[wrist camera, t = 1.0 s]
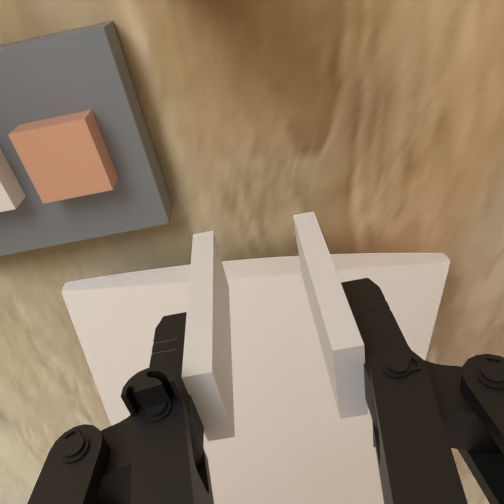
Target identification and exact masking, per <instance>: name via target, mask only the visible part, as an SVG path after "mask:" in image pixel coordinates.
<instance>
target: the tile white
mask: <svg viewBox="0 0 504 504" xmlns="http://www.w3.org/2000/svg"><path fill="white" fill-rule="evenodd" d="M25 197H26V195H25V194H24V192H23V190H22V188H21V186H20V184H19V182H18V180H17V178H16V177H15V175H14V173H13V171H12V169H11V167H10V165H9V163H8V162H7V160H6V158H5V156H4V154H3V152H2V150H1V148H0V212H4V211H9V210H14V209H16V208H17V207H18V205H19V204H20V203H21V202H22V200H23V199H24V198H25Z"/></svg>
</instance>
